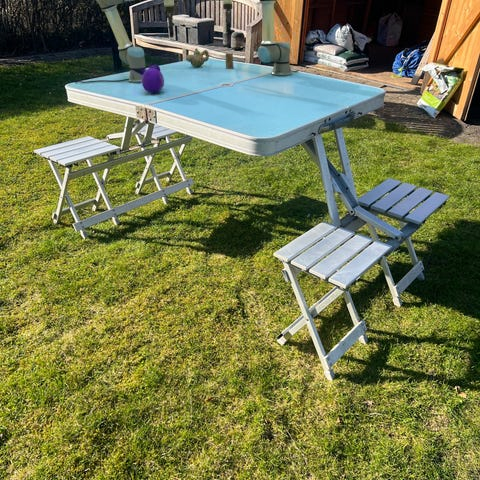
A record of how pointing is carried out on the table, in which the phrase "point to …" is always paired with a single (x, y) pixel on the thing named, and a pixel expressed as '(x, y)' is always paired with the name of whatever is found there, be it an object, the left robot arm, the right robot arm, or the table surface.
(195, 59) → the tan lumpy piece
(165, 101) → the table surface
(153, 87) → the toy
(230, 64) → the block
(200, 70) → the table surface
